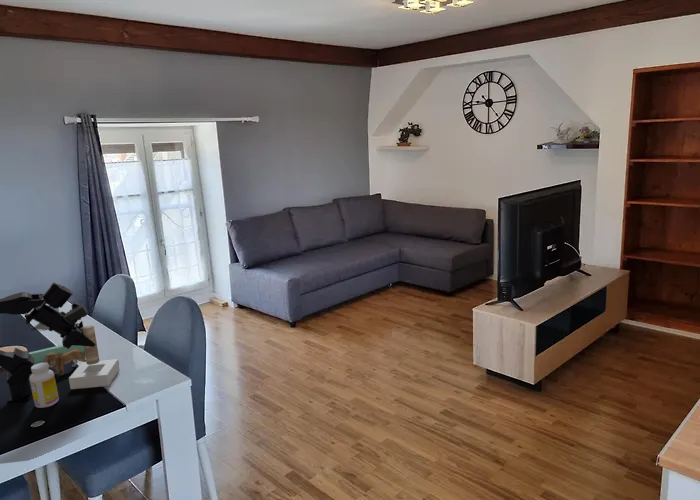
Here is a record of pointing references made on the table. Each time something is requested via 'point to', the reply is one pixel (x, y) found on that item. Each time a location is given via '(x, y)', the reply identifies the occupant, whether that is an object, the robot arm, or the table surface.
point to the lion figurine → (63, 359)
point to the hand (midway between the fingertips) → (94, 343)
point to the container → (41, 354)
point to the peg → (91, 352)
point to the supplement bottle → (43, 385)
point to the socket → (94, 374)
